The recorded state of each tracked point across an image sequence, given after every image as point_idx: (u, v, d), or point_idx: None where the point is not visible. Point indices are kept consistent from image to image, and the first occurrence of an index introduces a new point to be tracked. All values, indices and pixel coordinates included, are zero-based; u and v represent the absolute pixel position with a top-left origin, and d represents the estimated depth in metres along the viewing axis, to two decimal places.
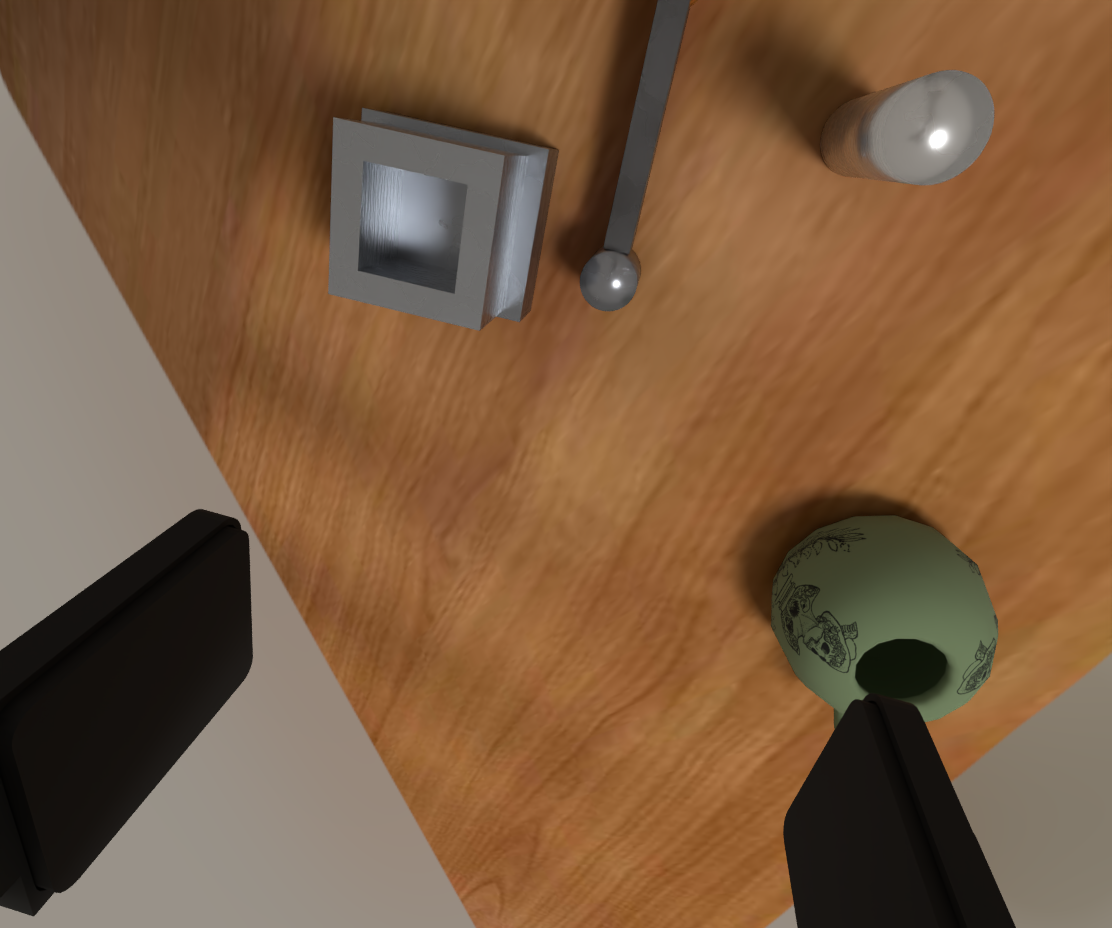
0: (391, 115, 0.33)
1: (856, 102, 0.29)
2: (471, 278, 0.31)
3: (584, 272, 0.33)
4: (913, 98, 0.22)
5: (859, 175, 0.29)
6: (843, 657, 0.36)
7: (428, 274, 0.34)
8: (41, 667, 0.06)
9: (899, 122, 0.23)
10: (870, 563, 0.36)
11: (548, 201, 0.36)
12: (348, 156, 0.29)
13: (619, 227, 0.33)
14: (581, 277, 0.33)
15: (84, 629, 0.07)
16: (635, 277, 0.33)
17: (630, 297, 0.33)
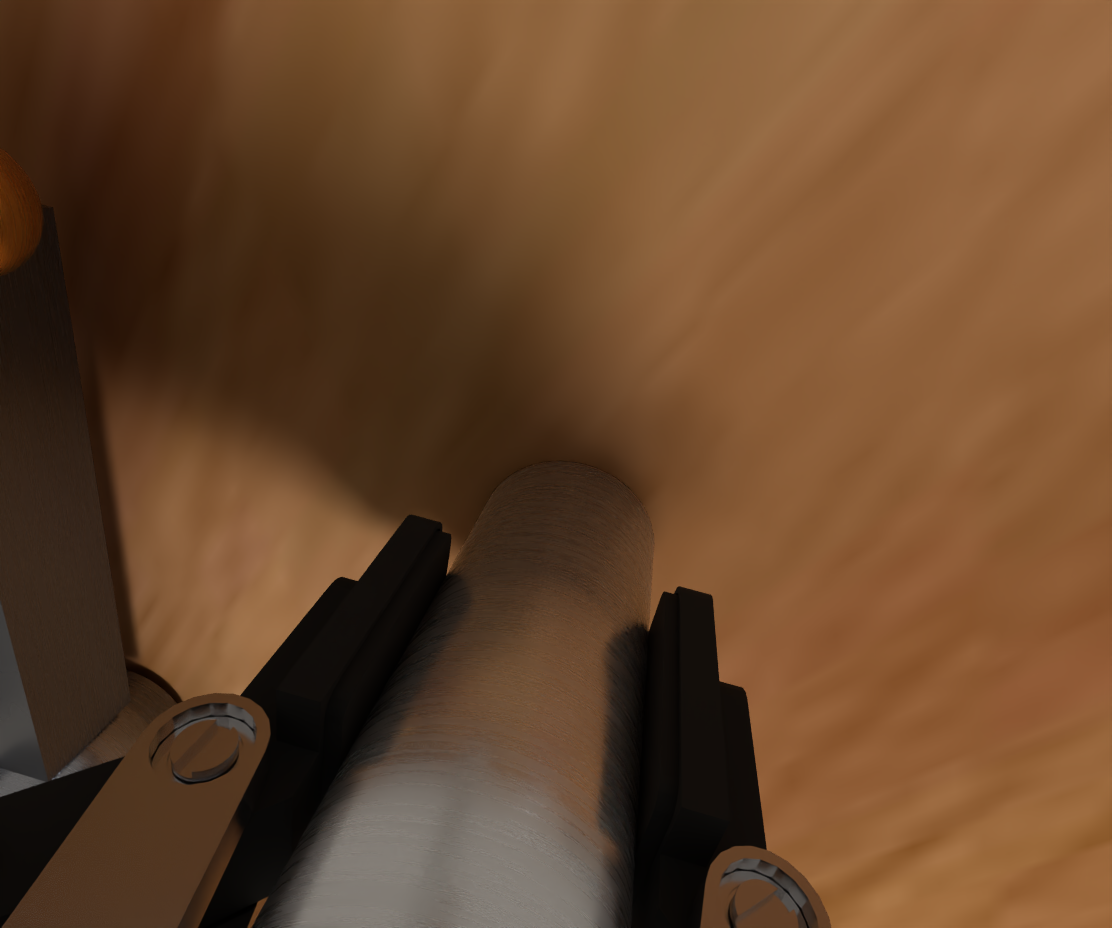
0: None
1: (451, 583, 0.10)
2: None
3: None
4: None
5: None
6: None
7: None
8: (351, 655, 0.07)
9: None
10: None
11: None
12: None
13: (3, 736, 0.14)
14: None
15: (368, 622, 0.08)
16: None
17: None
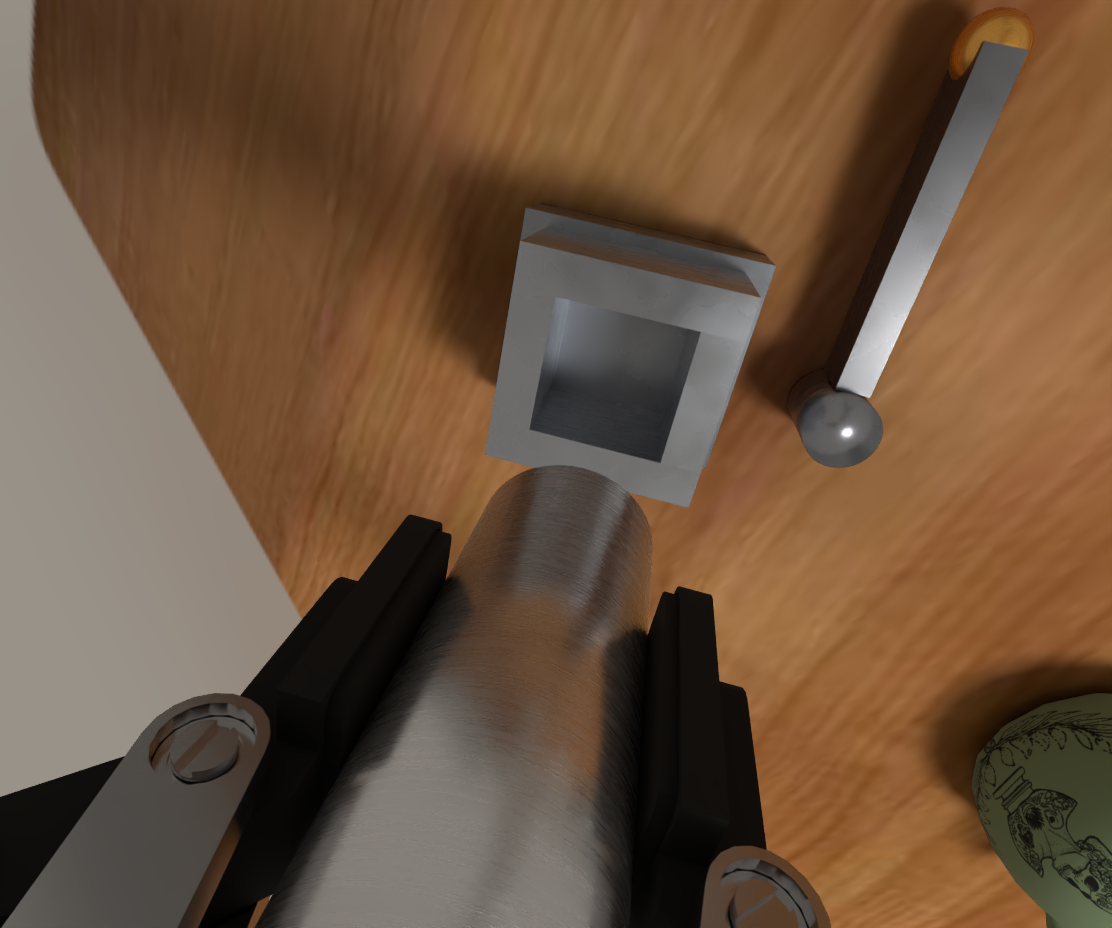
0: (564, 218, 0.25)
1: (450, 588, 0.10)
2: (687, 445, 0.23)
3: (811, 421, 0.26)
4: None
5: None
6: None
7: (606, 421, 0.26)
8: (351, 655, 0.07)
9: None
10: None
11: None
12: (535, 290, 0.21)
13: (862, 364, 0.25)
14: (806, 426, 0.26)
15: (368, 622, 0.08)
16: (881, 429, 0.25)
17: (869, 452, 0.26)
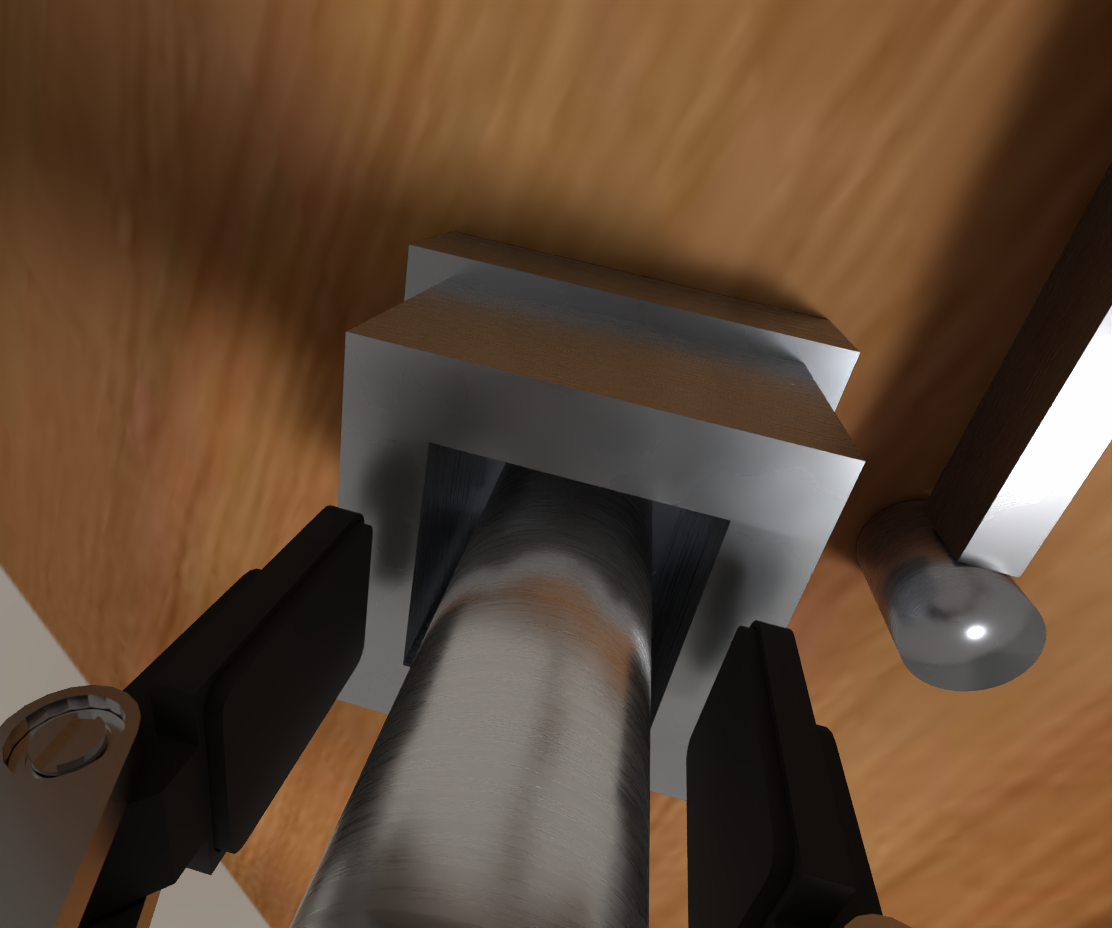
0: (478, 263, 0.14)
1: (497, 499, 0.12)
2: (700, 712, 0.12)
3: (916, 619, 0.14)
4: None
5: None
6: None
7: None
8: (238, 646, 0.07)
9: None
10: None
11: None
12: (387, 429, 0.10)
13: (1009, 525, 0.14)
14: (906, 626, 0.15)
15: (263, 613, 0.08)
16: (1042, 638, 0.14)
17: (1017, 672, 0.15)
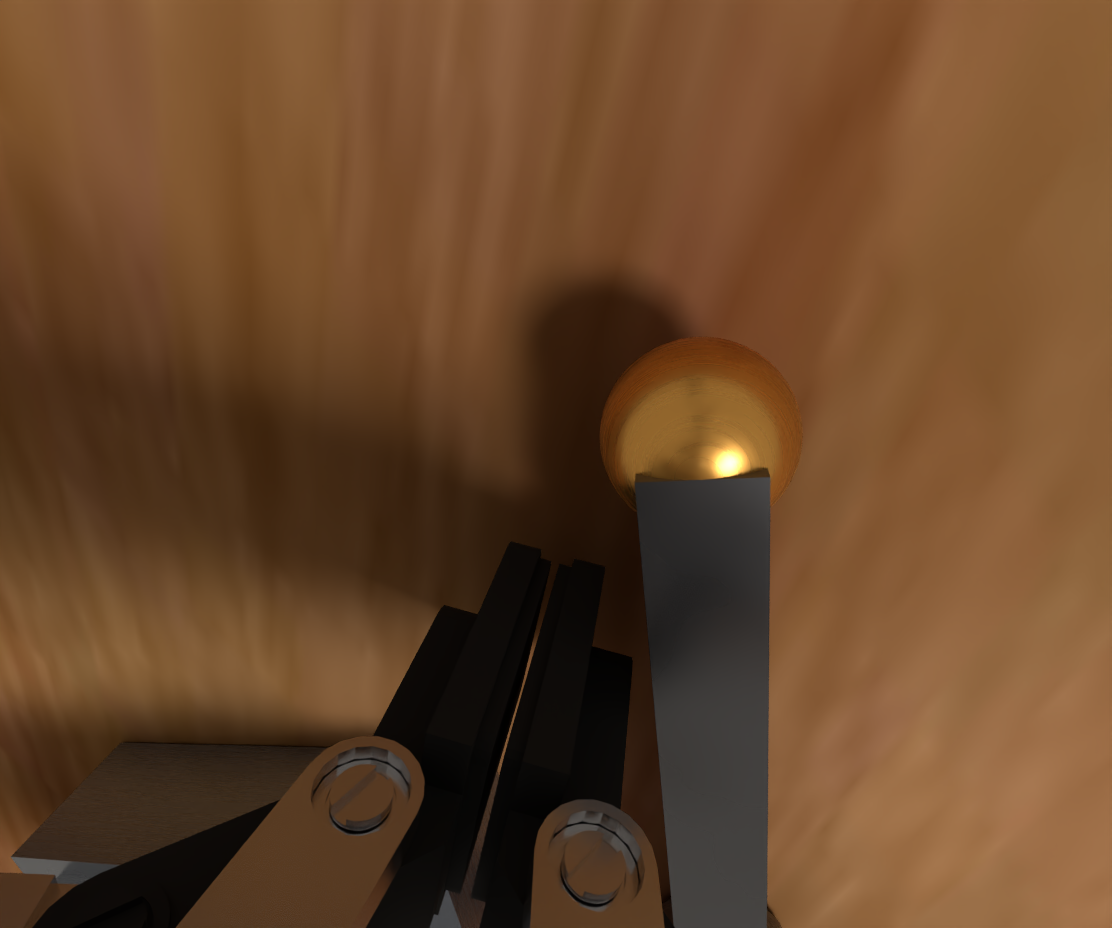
0: (73, 861, 0.13)
1: None
2: None
3: None
4: None
5: None
6: None
7: None
8: (490, 694, 0.07)
9: None
10: None
11: None
12: None
13: None
14: None
15: (497, 658, 0.08)
16: None
17: None
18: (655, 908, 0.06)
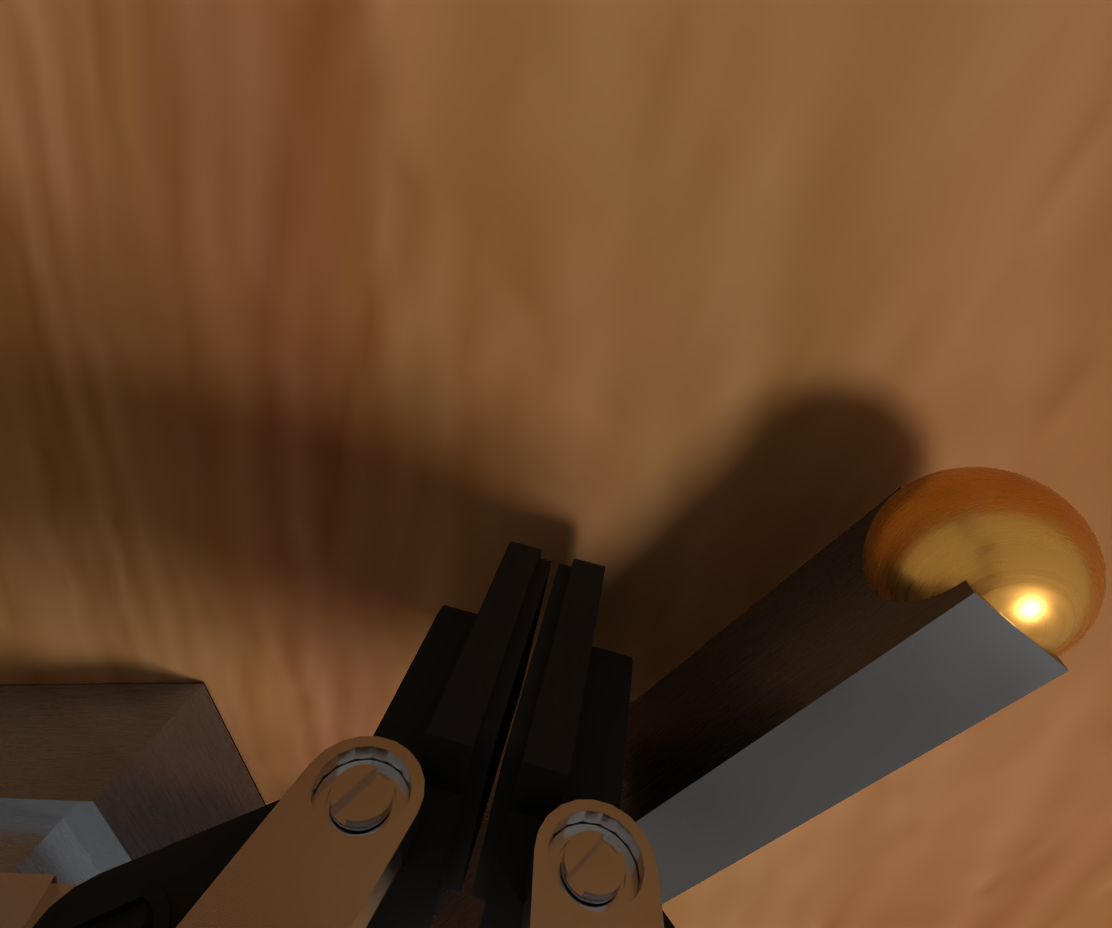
0: None
1: None
2: None
3: None
4: None
5: None
6: None
7: None
8: (490, 693, 0.07)
9: None
10: None
11: (235, 782, 0.15)
12: None
13: None
14: None
15: (497, 658, 0.08)
16: None
17: None
18: (655, 908, 0.06)
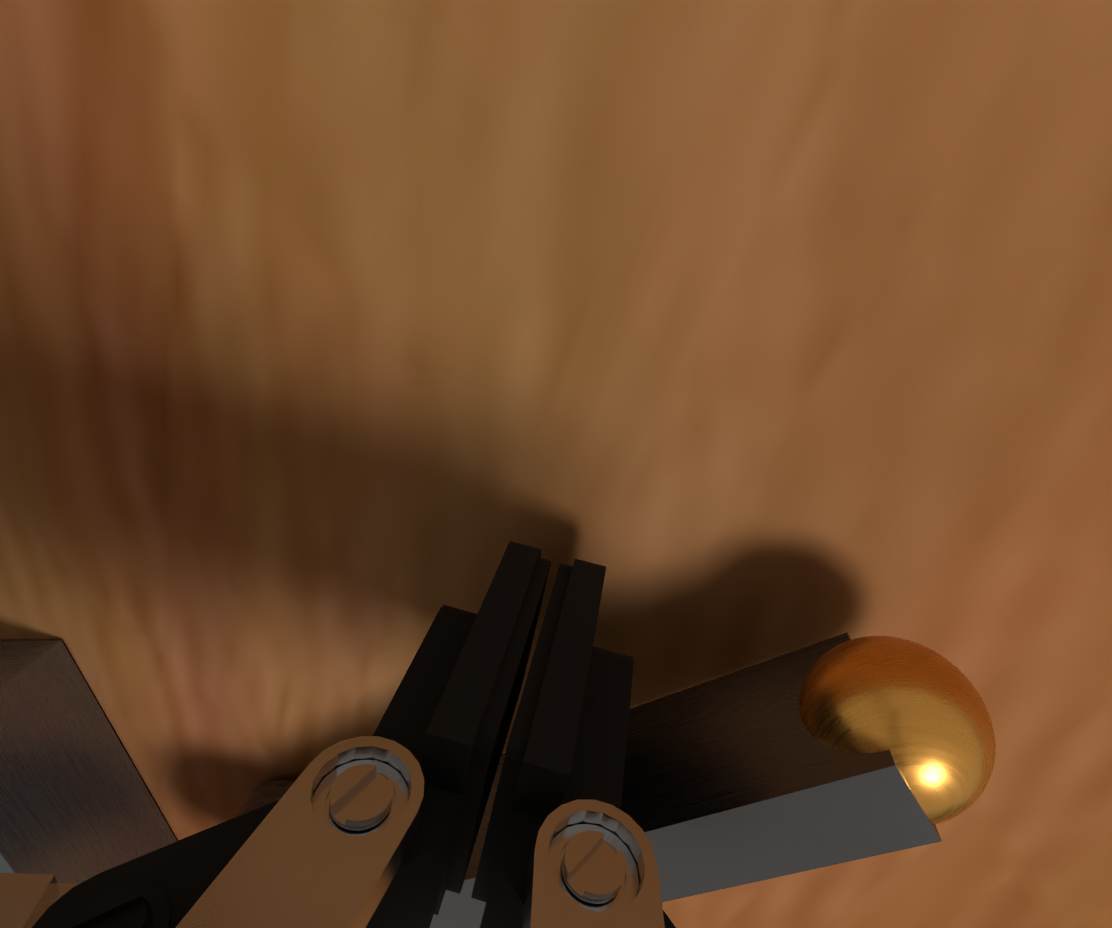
0: None
1: None
2: None
3: None
4: None
5: None
6: None
7: None
8: (489, 694, 0.07)
9: None
10: None
11: (97, 739, 0.15)
12: None
13: None
14: None
15: (496, 658, 0.08)
16: None
17: None
18: (655, 908, 0.06)
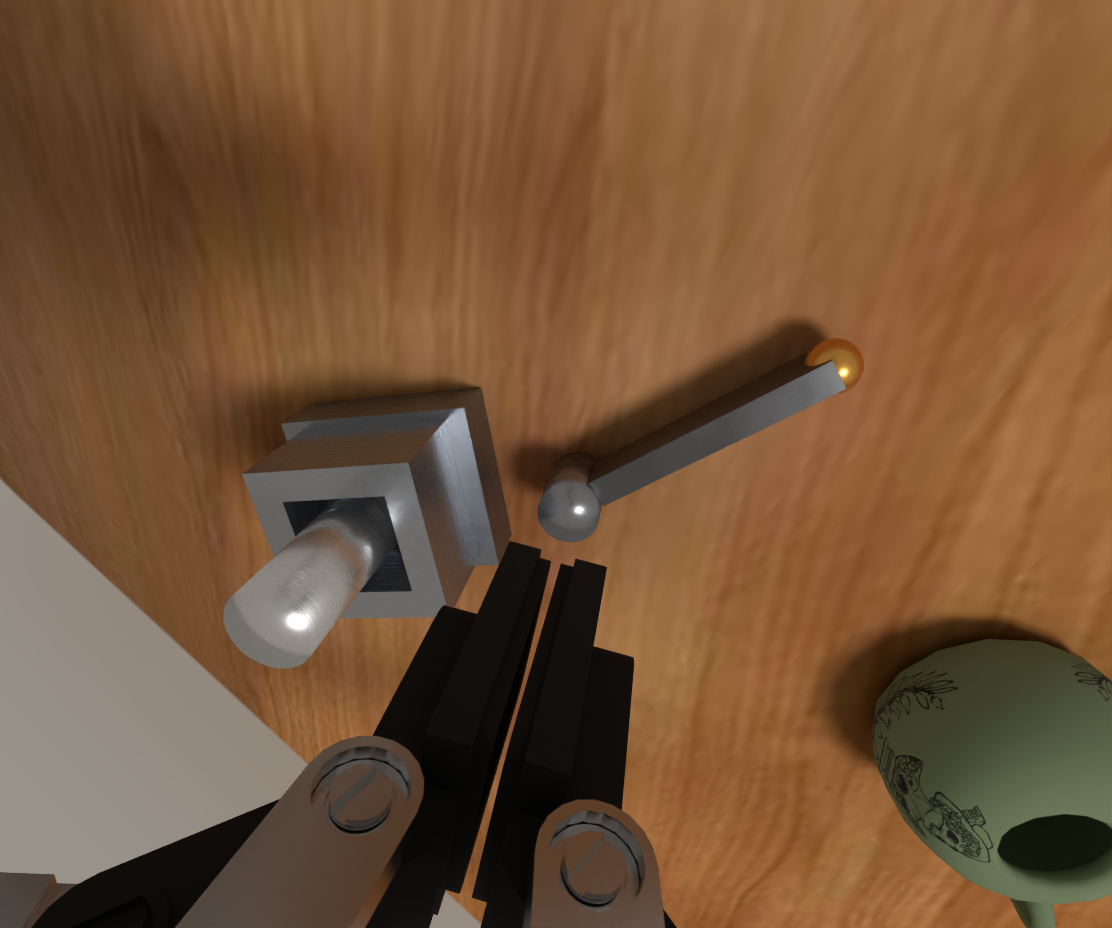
0: (309, 422, 0.32)
1: None
2: (422, 574, 0.29)
3: (556, 492, 0.30)
4: (233, 615, 0.24)
5: None
6: (977, 846, 0.30)
7: (389, 560, 0.32)
8: (489, 694, 0.07)
9: (238, 632, 0.24)
10: (972, 725, 0.30)
11: (488, 437, 0.34)
12: (268, 502, 0.29)
13: (615, 482, 0.30)
14: (550, 492, 0.30)
15: (496, 658, 0.08)
16: (592, 531, 0.31)
17: (573, 540, 0.31)
18: (656, 908, 0.06)
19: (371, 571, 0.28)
